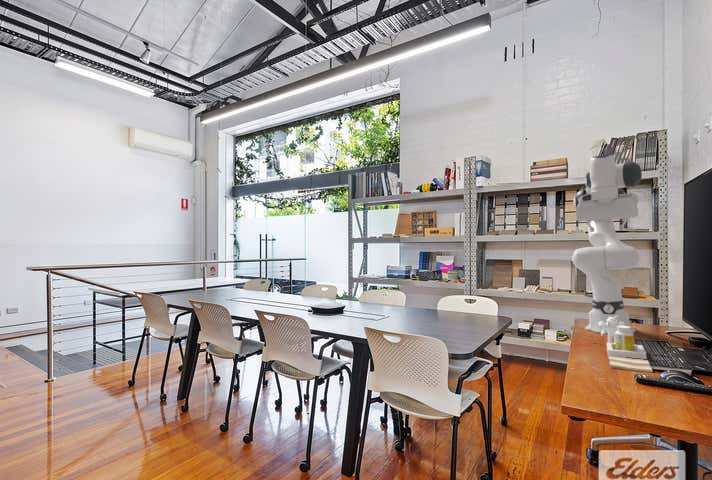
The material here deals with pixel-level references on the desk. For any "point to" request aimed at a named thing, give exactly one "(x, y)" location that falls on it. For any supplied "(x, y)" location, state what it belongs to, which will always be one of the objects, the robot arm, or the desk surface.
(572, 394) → the desk surface
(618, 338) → the supplement bottle
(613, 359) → the birch board
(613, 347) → the white rectangular frame
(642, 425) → the desk surface
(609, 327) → the hat wearing toy figure
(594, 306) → the robot arm
